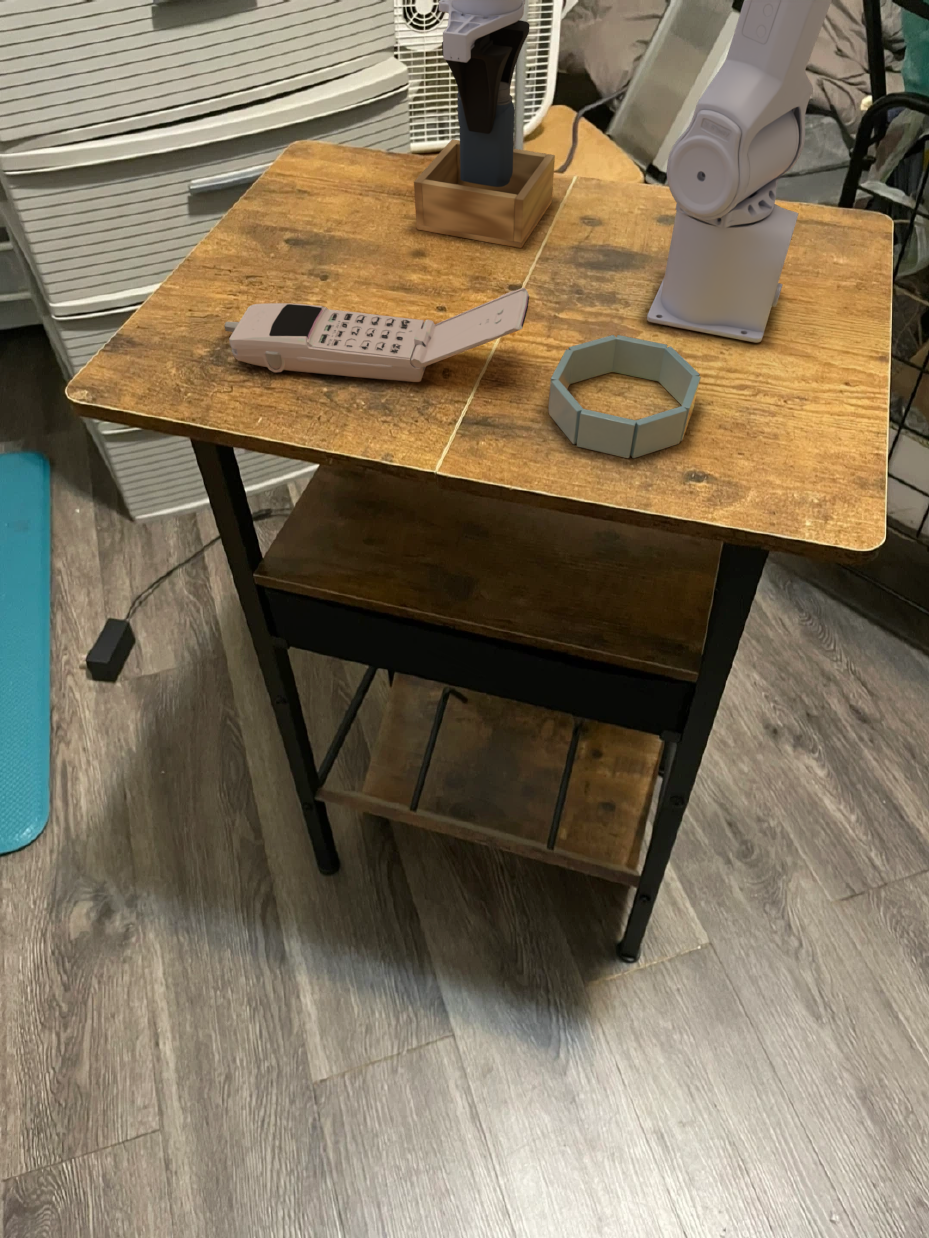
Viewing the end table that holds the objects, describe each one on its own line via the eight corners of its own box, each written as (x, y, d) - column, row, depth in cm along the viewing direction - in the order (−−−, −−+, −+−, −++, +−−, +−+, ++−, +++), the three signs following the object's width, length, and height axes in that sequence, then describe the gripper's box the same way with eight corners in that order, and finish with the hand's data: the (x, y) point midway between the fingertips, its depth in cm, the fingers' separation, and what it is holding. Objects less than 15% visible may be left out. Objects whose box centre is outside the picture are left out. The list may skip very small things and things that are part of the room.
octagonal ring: (701, 386, 67) (709, 352, 64) (672, 469, 61) (680, 435, 59) (574, 359, 69) (577, 326, 67) (534, 437, 63) (537, 403, 61)
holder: (552, 202, 86) (555, 154, 82) (521, 248, 80) (523, 199, 77) (453, 185, 88) (451, 139, 85) (416, 229, 83) (413, 181, 79)
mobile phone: (522, 330, 62) (189, 300, 64) (518, 399, 66) (207, 368, 69) (532, 286, 65) (217, 260, 68) (528, 354, 70) (232, 327, 73)
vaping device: (464, 169, 83) (462, 24, 73) (516, 178, 82) (520, 31, 72) (454, 181, 81) (451, 35, 72) (507, 190, 80) (510, 42, 71)
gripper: (471, -91, 72) (472, 88, 83) (402, -41, 64) (413, 151, 74) (552, -84, 71) (542, 98, 81) (492, -32, 62) (490, 163, 73)
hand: (486, 124), depth 78 cm, fingers closed on vaping device, 2 cm apart
